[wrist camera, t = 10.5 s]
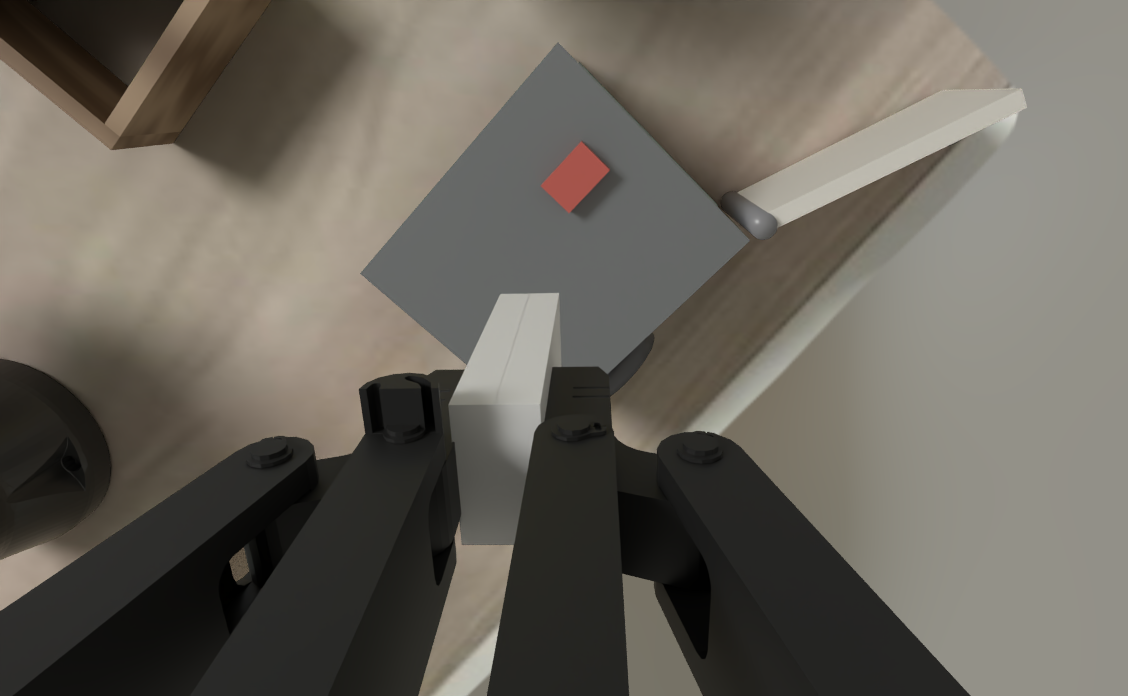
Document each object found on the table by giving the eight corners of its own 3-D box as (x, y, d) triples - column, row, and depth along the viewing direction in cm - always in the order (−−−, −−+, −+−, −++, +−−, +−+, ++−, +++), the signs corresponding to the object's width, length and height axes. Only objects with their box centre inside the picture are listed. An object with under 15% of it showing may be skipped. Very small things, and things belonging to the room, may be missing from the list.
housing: (570, 388, 49) (565, 456, 40) (403, 240, 45) (355, 277, 36) (738, 229, 44) (776, 264, 35) (566, 52, 41) (558, 39, 32)
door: (717, 197, 43) (746, 220, 35) (937, 87, 41) (1025, 84, 32) (730, 227, 44) (762, 257, 36) (948, 120, 41) (1037, 126, 33)
